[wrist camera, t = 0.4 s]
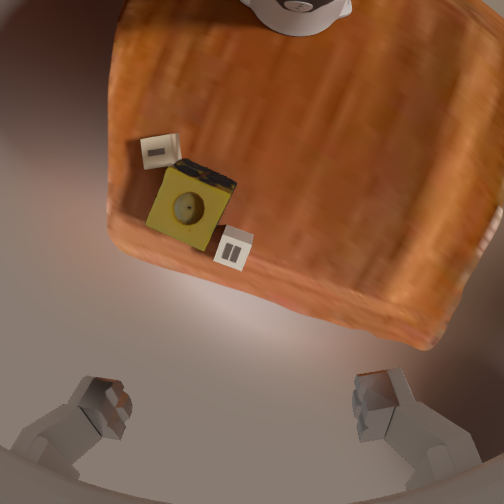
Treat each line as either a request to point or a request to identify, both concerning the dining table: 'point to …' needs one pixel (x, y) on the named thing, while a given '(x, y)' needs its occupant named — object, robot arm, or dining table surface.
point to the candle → (190, 203)
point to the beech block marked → (161, 151)
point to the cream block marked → (234, 247)
